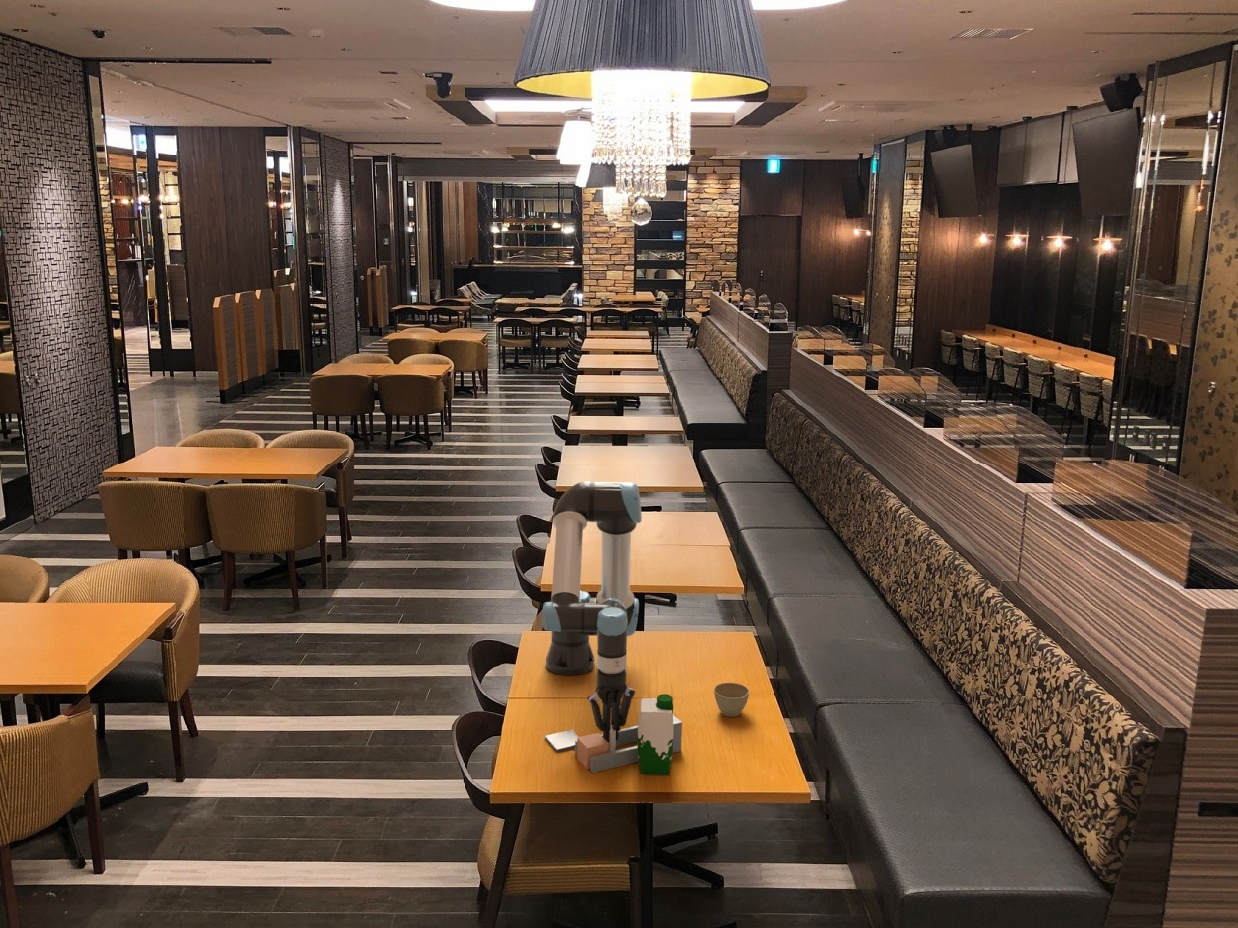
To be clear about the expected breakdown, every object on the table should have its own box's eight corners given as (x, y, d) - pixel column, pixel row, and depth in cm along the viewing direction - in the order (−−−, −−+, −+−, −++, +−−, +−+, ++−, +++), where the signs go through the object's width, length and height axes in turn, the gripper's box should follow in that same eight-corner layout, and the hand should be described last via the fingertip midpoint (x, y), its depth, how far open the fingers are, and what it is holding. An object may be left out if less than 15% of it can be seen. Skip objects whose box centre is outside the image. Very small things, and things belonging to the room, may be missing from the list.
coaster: (544, 738, 281) (544, 735, 281) (572, 732, 285) (572, 729, 285) (556, 752, 274) (556, 749, 274) (584, 745, 278) (584, 742, 278)
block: (577, 758, 272) (577, 737, 270) (597, 753, 274) (598, 732, 273) (586, 769, 266) (587, 748, 265) (608, 764, 269) (608, 742, 268)
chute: (575, 753, 274) (575, 724, 272) (661, 733, 285) (662, 705, 283) (592, 772, 265) (592, 743, 263) (681, 750, 276) (681, 722, 274)
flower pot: (752, 709, 300) (753, 686, 298) (741, 724, 291) (742, 700, 289) (719, 702, 304) (720, 679, 302) (707, 716, 295) (708, 693, 293)
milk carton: (672, 778, 264) (674, 706, 259) (636, 777, 264) (638, 704, 259) (672, 760, 272) (674, 690, 267) (637, 759, 272) (638, 689, 268)
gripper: (595, 678, 260) (594, 764, 266) (641, 669, 266) (639, 752, 272) (582, 667, 267) (581, 750, 273) (627, 657, 273) (625, 739, 278)
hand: (610, 751), depth 272 cm, fingers closed
